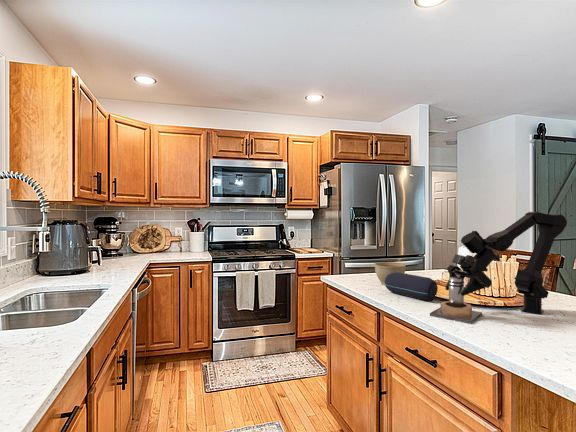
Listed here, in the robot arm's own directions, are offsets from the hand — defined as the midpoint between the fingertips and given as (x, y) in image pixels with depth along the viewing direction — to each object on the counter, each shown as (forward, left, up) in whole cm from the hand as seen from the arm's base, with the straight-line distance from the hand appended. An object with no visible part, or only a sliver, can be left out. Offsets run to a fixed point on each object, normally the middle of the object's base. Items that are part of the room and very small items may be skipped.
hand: (453, 292), depth 129 cm
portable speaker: (-18, -25, -9) cm, 32 cm away
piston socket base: (-1, +1, -9) cm, 9 cm away
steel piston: (-1, +1, -8) cm, 8 cm away
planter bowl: (-37, -44, -9) cm, 58 cm away
